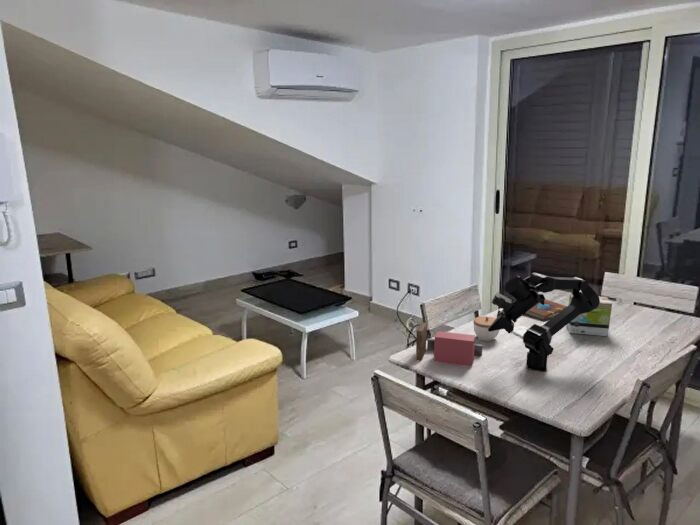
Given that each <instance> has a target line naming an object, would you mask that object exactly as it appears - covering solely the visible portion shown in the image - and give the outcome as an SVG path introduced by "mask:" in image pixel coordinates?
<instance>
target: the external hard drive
mask: <svg viewBox="0 0 700 525" xmlns="http://www.w3.org/2000/svg"><path fill="white" fill-rule="evenodd" d="M526 329H529V328H528V327H526V326H524V325H518V326H514V330H513V331H512V332H511V333H512V334H514V335H516V336H518V337H519V338H521V339H523V335H524V333H525V332H526V331H527V330H526Z"/></svg>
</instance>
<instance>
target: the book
mask: <svg viewBox="0 0 700 525" xmlns="http://www.w3.org/2000/svg"><path fill="white" fill-rule="evenodd" d="M544 302H545V303H544V305H542V304H541V303H538V304H537V305H535V306H534V307H533V308H531V309H530V310H529V311H527V312H526V315H525V316H529V317H531V318H535V319H537V320H540V321H546V320H550V319H552V318H553V317H554V316H555V315H557V314H558V313H559V312H560V311H562V310H563V309H564V308H566V307H567V306H568V305H564V304H562V303H558V302H554V301H552V300H550V299H547V298H545V301H544Z"/></svg>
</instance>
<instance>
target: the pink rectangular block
mask: <svg viewBox="0 0 700 525" xmlns="http://www.w3.org/2000/svg"><path fill="white" fill-rule="evenodd" d="M434 339H435V342H434V350H433V362H434V363H442V364H448V365H449V364H451V365H458V366H465V367H473V364H474V361H475V355H474V348H475V344H476V343H475V342H476V334H467V333H457V332H447V331H439V330H437V331H436V333H435V335H434Z"/></svg>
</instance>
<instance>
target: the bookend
mask: <svg viewBox="0 0 700 525" xmlns="http://www.w3.org/2000/svg"><path fill="white" fill-rule="evenodd" d="M427 326H428V323H427V322H420V323H419V326H418V327H417V329H416V345H415V349H416V350H415V361H418V362H422V360H423V358H424V356H425V354H426V352H427V350H430V351H431V350H432V351H434V342H435V338H429V337H428V338H427ZM474 356H479V357H480V356H482V357H483V344H479V343H475V348H474Z"/></svg>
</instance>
